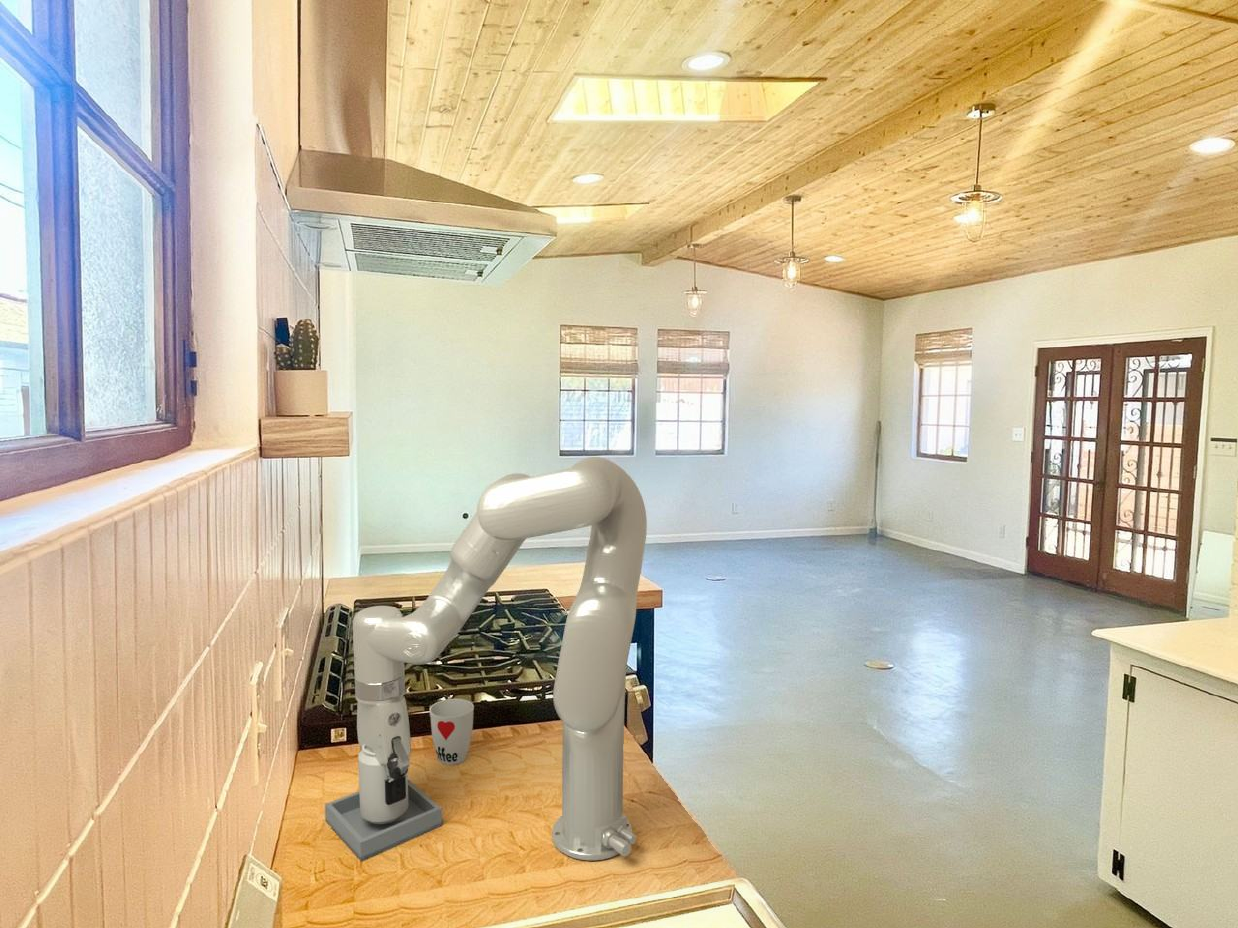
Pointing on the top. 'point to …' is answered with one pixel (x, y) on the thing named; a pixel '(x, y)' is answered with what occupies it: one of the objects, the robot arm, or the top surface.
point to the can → (377, 790)
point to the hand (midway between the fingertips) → (383, 789)
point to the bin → (381, 837)
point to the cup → (451, 729)
